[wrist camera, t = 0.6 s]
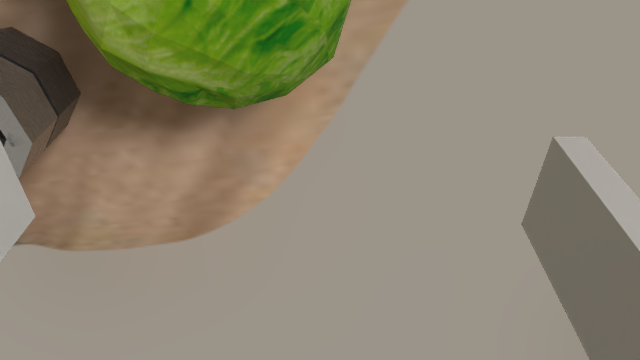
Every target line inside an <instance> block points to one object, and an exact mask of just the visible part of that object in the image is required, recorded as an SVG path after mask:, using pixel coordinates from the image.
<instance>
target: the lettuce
mask: <svg viewBox="0 0 640 360" xmlns="http://www.w3.org/2000/svg"><path fill="white" fill-rule="evenodd" d="M66 1H67V3H68V5H69V7H70V9H71V11H72V12H73V14H74V16H75V17H76V19H77V21H78V22H79V24H80V26H81V27H82V29H83V31H84V32H85V33H86V35H87V36H88V37H89V39H90V40H91V41H92V42H93V44H94V45H95V46H96V47H97V49H98V50H99V51H100V53H101V54H102V55H103V56H104V58H105V59H106V60H107V61H108V63H109V64H110V65H111V67H113V68H115V69H117V70H118V71H120V72H122V73H123V74H125V75H127V76H129V77H130V78H132V79H134V80H135V81H137V82H139V83H140V84H142V85H144V86H146V87H147V88H149V89H151V90H153V91H155V92H157V93H159V94H162V95H166V96H169V97H171V98H174V99H176V100H178V101H181V102H183V103H186V104H193V105H202V106H212V107H221V108H231V109H235V108H239V107H243V106H247V105H251V104H255V103H258V102H262V101H266V100H270V99H274V98H277V97H281V96H285V95H287V94H289V93H290V92H291V91H292V90H294V89H295V88H296V87H297V86H299V85H300V84H301V83H302V82H303V81H305V80H306V79H307V78H308V77H310V76H311V75H312V74H313V73H315V72H316V71H317V70H318V69H320V68H321V67H322V66H323V65H325V64H326V63H327V62H328V61H330V60H331V59H332V58H333V57H334V54H335V50H336V47H337V44H338V41H339V37H340V34H341V31H342V28H343V24H344V21H345V18H346V15H347V12H348V8H349V5H350V2H351V0H66Z"/></svg>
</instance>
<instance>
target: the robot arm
mask: <svg viewBox="0 0 640 360" xmlns="http://www.w3.org/2000/svg"><path fill="white" fill-rule="evenodd" d="M34 217H35V214H34V212H33V210H32V208H31V206H30V204H29V201H28V199H27V197H26V195H25V193H24V190H23V188H22V186H21V184H20V182H19V180H18V177H17V175H16V173H15V171H14V169H13V167H12V164H11V162H10V160H9V158H8V156H7V153H6V151H5V149H4V147H3V145H2V143H1V140H0V262H1V261H2V259H3V258H4V257H5V256H6V254H7V253H8V252H9V250H10V249H11V248H12V246H13V245H14V244H15V242H16V241H17V240H18V238H19V237H20V236H21V234H22V233H23V232H24V231H25V229H26V228H27V227H28V225H29V224H30V223H31V221H32V220H33V219H34ZM522 226H523V228H524V230H525V232H526V234H527V236H528V238H529V240H530V242H531V244H532V246H533V248H534V250H535V252H536V254H537V256H538V258H539V260H540V262H541V264H542V266H543V268H544V270H545V272H546V274H547V276H548V278H549V280H550V282H551V284H552V286H553V288H554V290H555V292H556V294H557V295H558V298H559V300H560V302H561V303H562V306H563V308H564V309H565V312H566V314H567V316H568V318H569V319H570V321H571V323H572V325H573V327H574V329H575V331H576V333H577V335H578V337H579V339H580V341H581V343H582V345H583V347H584V349H585V351H586V353H587V355H588V357H589V359H590V360H640V199H639V198H638V197H637V196H636V195H635V194H634V193H633V191H632V190H631V189H630V188H629V187H628V185H627V184H626V183H625V182H624V181H623V180H622V179H621V177H620V176H619V175H618V174H617V173H616V172H615V170H614V169H613V168H612V167H611V166H610V165H609V163H608V162H607V161H606V160H605V159H604V158H603V156H602V155H601V154H600V153H599V152H598V151H597V149H596V148H595V147H594V146H593V145H592V144H591V142H590V141H589V140H588V139H587V138H586V137H557V136H554V137H553V138H552V141H551V144H550V147H549V150H548V152H547V155H546V158H545V161H544V163H543V166H542V169H541V172H540V174H539V177H538V180H537V183H536V186H535V188H534V191H533V194H532V197H531V199H530V202H529V205H528V208H527V211H526V214H525V216H524V219H523V222H522Z"/></svg>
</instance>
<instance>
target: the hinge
mask: <svg viewBox="0 0 640 360" xmlns="http://www.w3.org/2000/svg"><path fill="white" fill-rule="evenodd" d="M79 96H80V92H79V90H78V88H77V87H76V85H75V83H74V81H73V79H72V77H71V75H70V73H69V71H68V70H67V68H66V66H65V64H64V62H63V60H62V58H61V56H60V54H59V53H58V52H56V51H54V50H53V49H51V48H49V47H47V46H45V45H43V44H42V43H40V42H38V41H36V40H34V39H32V38H31V37H29V36H27V35H25V34H23V33H22V32H20V31H18V30H16V29H14V28H12V27H9V28H4V29H0V140H1V143H2V145H3V147H4V149H5V151H6V153H7V156H8V158H9V160H10V162H11V164H12V167H13V169H14V171H15V173H16V175H17V177H18V178H20V177H21V175H22V174H23V173H24V172H25V171H26V170H27V169H28V168H29V167H30V166H31V164H32V163H33V162H34V161H35V160H36V159H37V158H38V157H39V156H40V155H41V153H42V152H43V151H44V150H45V148H47V147H48V146H49V145H50V144H51V142H52V141H53V140H54V139H55V138H56V137H57V136H58V135H59V134H60V133H61V131H62V130H63V129H64V128H65V127H66V126H67V125H68V122H69V120H70V117H71V115H72V113H73V110H74V108H75V106H76V103H77V101H78V98H79Z"/></svg>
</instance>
